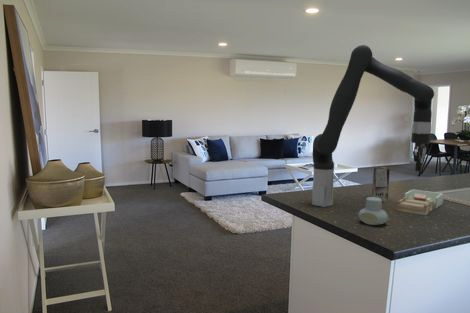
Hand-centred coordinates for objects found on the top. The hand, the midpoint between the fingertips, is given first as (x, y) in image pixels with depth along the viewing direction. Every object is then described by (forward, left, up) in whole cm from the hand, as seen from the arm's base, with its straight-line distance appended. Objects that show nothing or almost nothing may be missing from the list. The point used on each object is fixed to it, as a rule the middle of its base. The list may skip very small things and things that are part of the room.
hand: (418, 171), depth 168 cm
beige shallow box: (0, 0, -18) cm, 18 cm away
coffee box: (+9, +19, -18) cm, 28 cm away
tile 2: (+15, 0, -15) cm, 21 cm away
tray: (+14, 0, -18) cm, 22 cm away
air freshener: (-33, +7, -18) cm, 39 cm away
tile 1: (+8, 0, -15) cm, 17 cm away
